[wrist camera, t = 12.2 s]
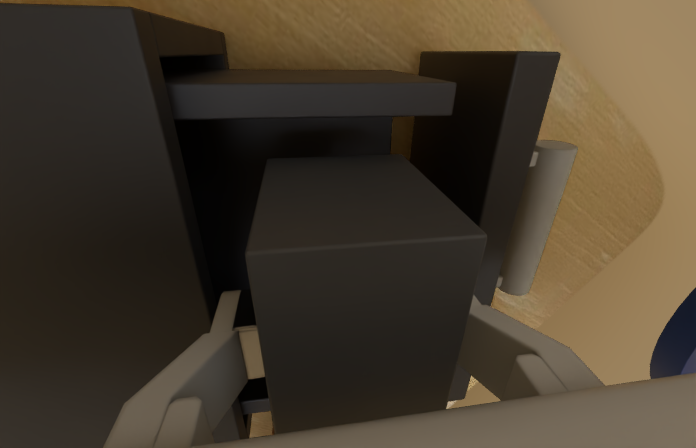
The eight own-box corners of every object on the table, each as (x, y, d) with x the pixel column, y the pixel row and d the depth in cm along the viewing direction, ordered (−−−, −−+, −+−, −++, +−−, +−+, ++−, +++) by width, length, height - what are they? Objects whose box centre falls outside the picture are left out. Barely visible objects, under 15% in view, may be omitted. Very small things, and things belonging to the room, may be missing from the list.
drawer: (539, 52, 14) (711, 53, 8) (479, 290, 21) (554, 387, 15) (71, 47, 12) (-151, 42, 6) (164, 320, 18) (102, 451, 12)
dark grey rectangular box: (401, 153, 10) (490, 235, 5) (385, 342, 14) (429, 481, 9) (266, 158, 9) (243, 252, 5) (288, 353, 13) (285, 506, 9)
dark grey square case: (224, 32, 13) (131, 5, 6) (264, 308, 20) (246, 464, 12) (-255, 23, 11) (-1437, -38, 3) (-27, 335, 18) (-261, 542, 10)
